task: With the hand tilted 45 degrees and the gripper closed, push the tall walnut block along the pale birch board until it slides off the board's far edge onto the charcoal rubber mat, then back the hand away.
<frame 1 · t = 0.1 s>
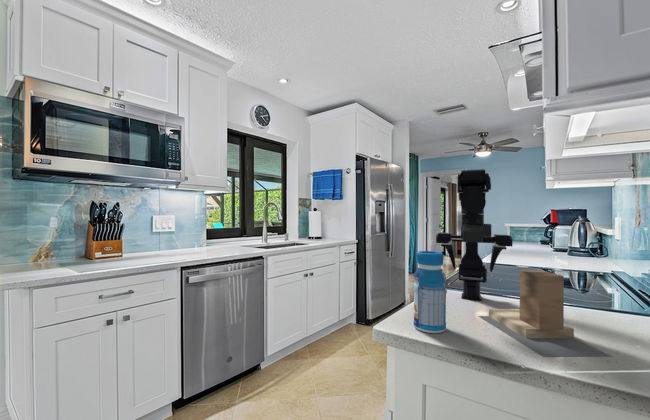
hand: (472, 270, 85), 15 cm above the counter, tool pointing down, fingers open, 9 cm apart
beverage bottle: (429, 328, 80), on the counter
rubber mat: (534, 334, 77), on the counter
birch board: (527, 326, 81), resting on rubber mat
walnut block: (540, 324, 77), point 2 cm above the counter, touching birch board
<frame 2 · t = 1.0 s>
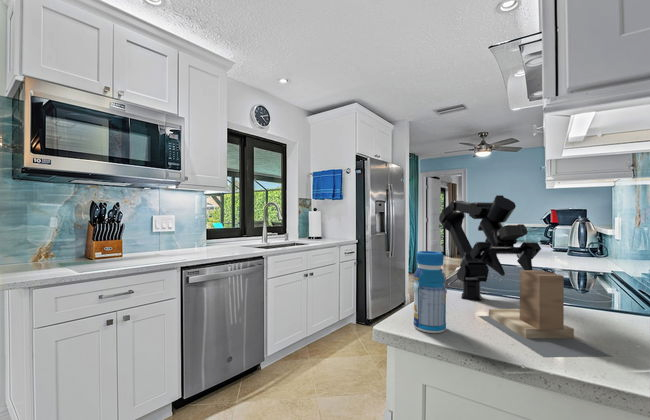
hand: (517, 275, 85), 13 cm above the counter, tool tilted 45°, fingers open, 8 cm apart
nothing on the counter moved.
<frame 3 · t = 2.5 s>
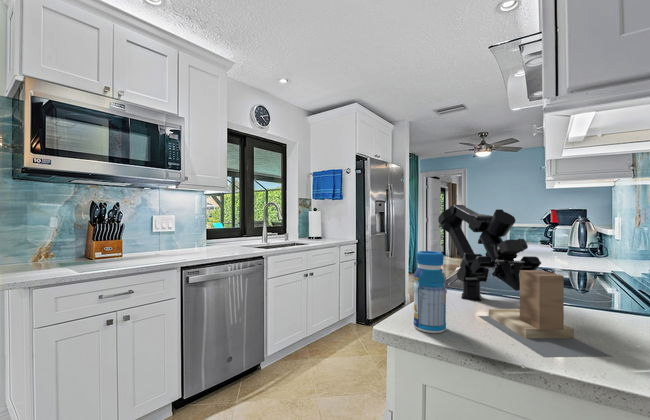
hand: (518, 290, 85), 9 cm above the counter, tool tilted 45°, fingers closed
nothing on the counter moved.
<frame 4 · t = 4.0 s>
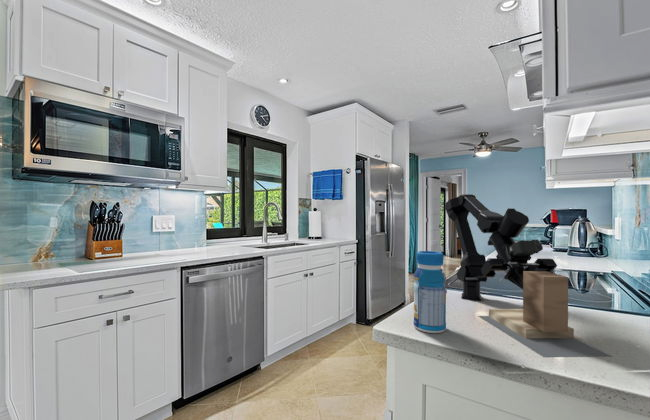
hand: (533, 294, 79), 9 cm above the counter, tool tilted 45°, fingers closed
walnut block: (544, 326, 75), point 3 cm above the counter
everything else where it was.
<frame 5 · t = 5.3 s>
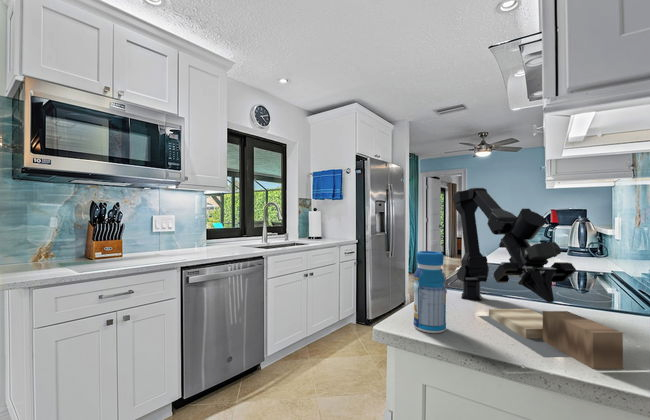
hand: (551, 301, 73), 9 cm above the counter, tool tilted 45°, fingers closed
walnut block: (554, 325, 72), point 4 cm above the counter, tilted 90°, touching rubber mat
everything else where it was.
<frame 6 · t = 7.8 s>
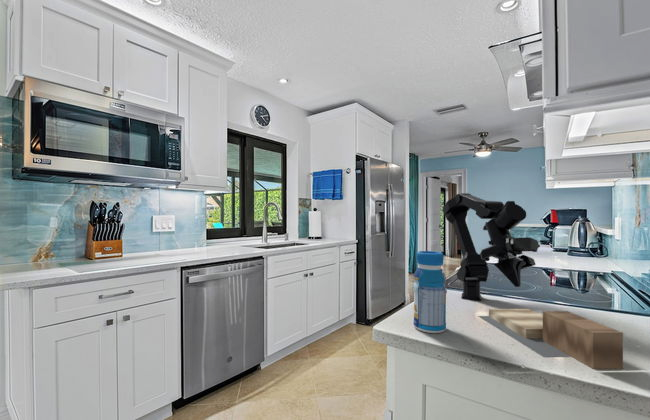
hand: (518, 286, 85), 10 cm above the counter, tool tilted 30°, fingers closed
nothing on the counter moved.
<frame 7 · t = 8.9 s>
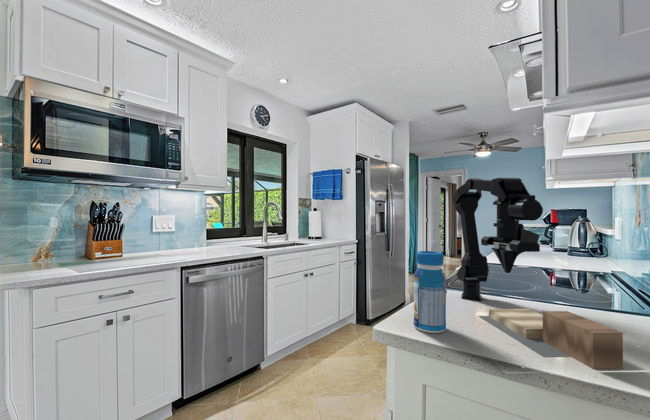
hand: (507, 272, 90), 13 cm above the counter, tool pointing down, fingers closed
nothing on the counter moved.
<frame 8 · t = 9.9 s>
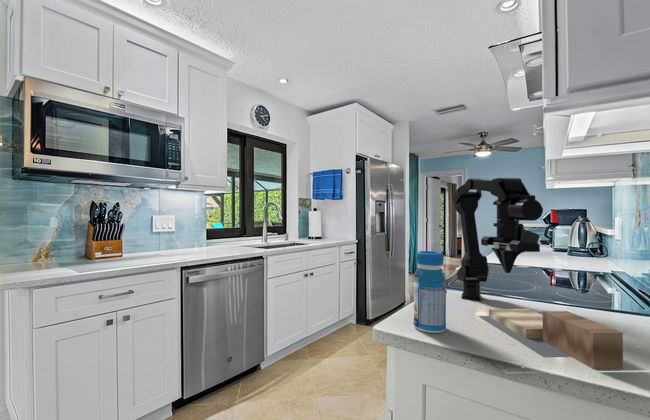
hand: (507, 272, 90), 13 cm above the counter, tool pointing down, fingers closed
nothing on the counter moved.
at the end: walnut block touching rubber mat; walnut block moved 4.7 cm from its start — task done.
